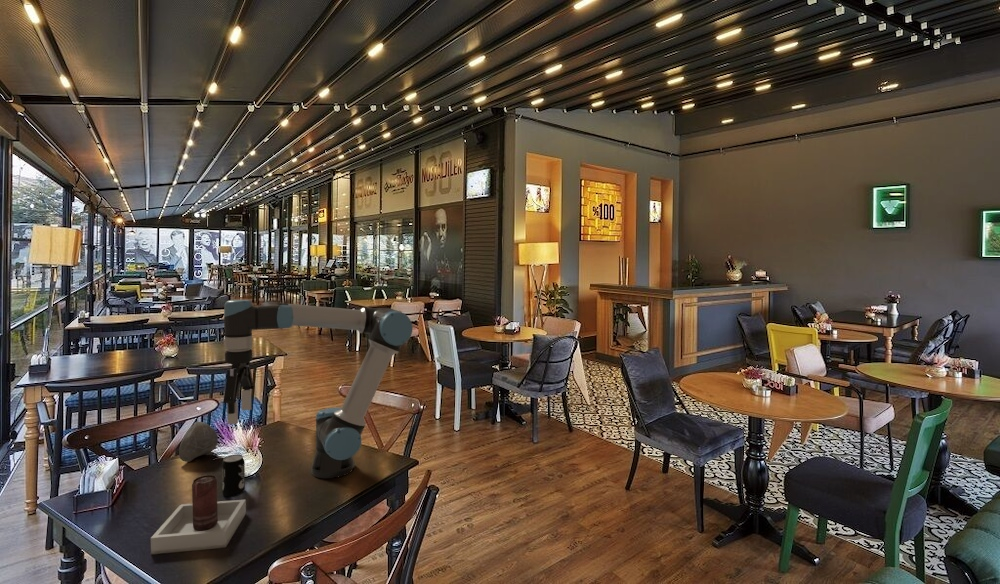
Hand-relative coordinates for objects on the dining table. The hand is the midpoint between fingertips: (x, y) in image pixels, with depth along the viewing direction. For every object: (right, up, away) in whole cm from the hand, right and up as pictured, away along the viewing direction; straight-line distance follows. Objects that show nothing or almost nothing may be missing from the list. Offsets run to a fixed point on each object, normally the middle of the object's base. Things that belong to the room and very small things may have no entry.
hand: (239, 416), depth 154 cm
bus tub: (-3, -30, -14) cm, 33 cm away
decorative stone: (-35, -26, +37) cm, 57 cm away
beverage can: (-7, -28, +10) cm, 31 cm away
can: (-4, -29, -12) cm, 32 cm away
